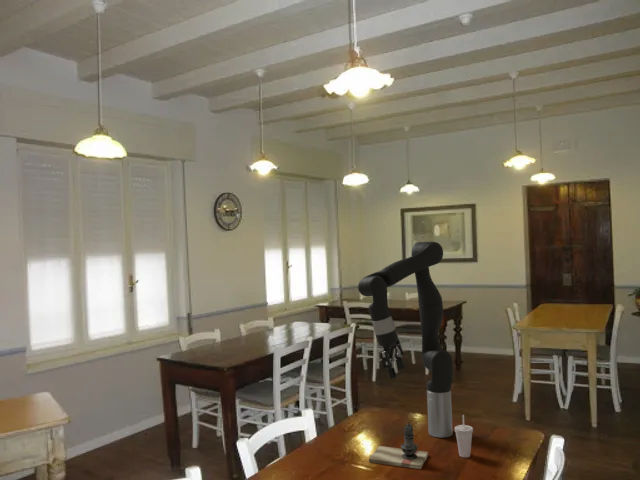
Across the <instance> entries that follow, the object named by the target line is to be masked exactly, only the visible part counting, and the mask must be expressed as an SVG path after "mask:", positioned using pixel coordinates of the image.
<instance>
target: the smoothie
mask: <svg viewBox="0 0 640 480" xmlns="http://www.w3.org/2000/svg"><path fill="white" fill-rule="evenodd" d="M454 432H455V437H456V442H457V443H456V444H457V448H458V449H457V450H458V455H459V457H462V458H470V456H471V450H472V438H473V432H474V428H473V426H470V425H467V424H465V414H462V424H458V425H456V426H454Z"/></svg>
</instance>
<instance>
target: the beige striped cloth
mask: <svg viewBox="0 0 640 480" xmlns="http://www.w3.org/2000/svg"><path fill="white" fill-rule="evenodd" d="M403 454H405V453H404V452H403V451H402V448H401V447H400V448H397V447H391V446H383V445H379V446H378V447H377V448H376V449H375V451H374V452H373V453H372V455H370V457H369V458H368V463H374V464H380V465H388V466H393V467H394V466H396V467H403V468H410V469H416V470H421V469H422V468H423V465H424V464H425V462H426V460H427V459H428V457H429V451H423V450H417V451H416V453H415V454H416V455H417V458H416V459H413V460H408V459H404V458H403V457H402V455H403Z"/></svg>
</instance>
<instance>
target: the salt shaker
mask: <svg viewBox="0 0 640 480" xmlns="http://www.w3.org/2000/svg"><path fill="white" fill-rule="evenodd" d="M403 437H404V442H403V443H401V444H400V449H402V451H403V452H404V453H405V454H403V455H402V457H403V458H404V459H408V460H413V459H416V458H417V455H416V454H415V453H416V451H418V444H416V443H415V442H414V437H415V435H414V428H413V425H412V424H410V422H409V421H408V422H407V424H405V425H404V434H403Z"/></svg>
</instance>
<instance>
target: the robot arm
mask: <svg viewBox="0 0 640 480" xmlns="http://www.w3.org/2000/svg"><path fill="white" fill-rule="evenodd" d="M443 256H444V249H443V246H442V245H441V244H440V243H439V242H437V241H419V242H418V241H417V242H415V243H414V244H413V246H412V248H411V256H410V257H406V258H403V259H399V260H397V261H395V262H392V263H391V264H388V265H386V266H385V267H383V268H382V269H381V270H378V271H376V272H373V273H371V274H369V275H366V276H363V277H362V278H361V279H360V280H359V282H358V285H357V290H358V292H359V294H360V295H362V296H363V297H367V298H369V297H372V302H371V304H369V305H368V312H369V316H370V318H371V322H372V329H373V330H374V331H373V332H374V335H375V338H376V342H377V345H378V346H380V347H382V349H383V351H380V352H379V355H380V358H381V362H382V366H383V369H385V370H386V369H387V372H388V375H389V377H390V379H396V378H397V373H396V369H395V367H394V366H395V365H394V363H395V362H396V365H397V369H398V370H399V371H400V370H404V369H405V365H404V364H405V363H404V361H403V356H404V350H403V347H402V345H401V342H400V339H399V335H398V332H397V328H396V327H395V323H394V320H393V318H392V315H391V312H390V307H389V304H388V303H389V302H388V301H389V300H388V297H389V296H388V288H389V287H392V286H394V285H396V284H397V283H399V282H401V281H402V280H404V279H406V278H408V277H409V276H411V275H413V274H414V278H415V282H416V290H417V297H418V299H417V300H418V312H419V318H420V330H421V360H422V363H423V366H424V367H425V368H426V369H427V370H428V371H431V380H428V381H426V398H427V399H426V400H427V401H426V402H427V403H426V404H427V426H428V427H427V429H428V432H427V433H428V435H429V436H431V437H434V438H442V439H443V438H449V437H451V436H453V412H452V411H453V410H452V385H453V377H454V374H453V373H454V365H453V357H452V355H451V353H449V352H448V351H447V350H444V349H441V345H440V337H439V335H440V333H439V332H440V329H441V326H442V323H443V318H444V305H443V297H442V295H441V293H440V291H439V289H438V288H437V286H436V285H435V283H434V282H433V279H432V277H431V273H430V267H432V266H436V265H437V264H439V263H441V261H442V260H443Z"/></svg>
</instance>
